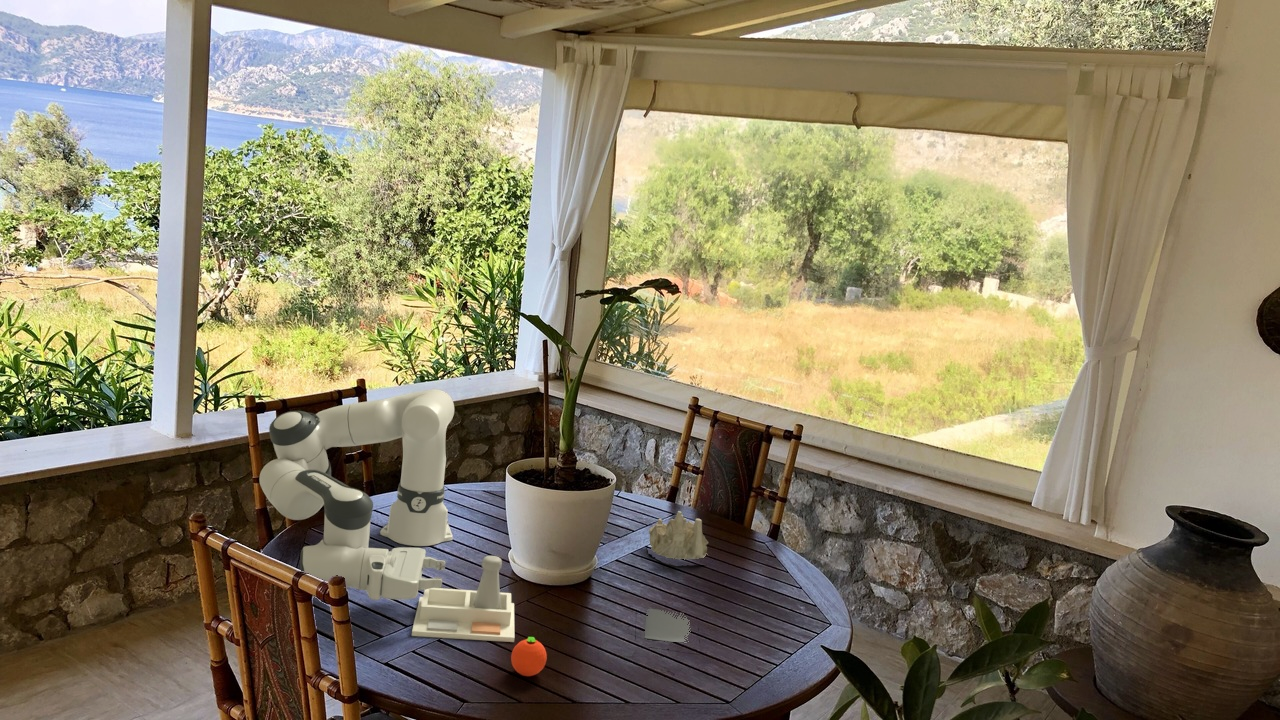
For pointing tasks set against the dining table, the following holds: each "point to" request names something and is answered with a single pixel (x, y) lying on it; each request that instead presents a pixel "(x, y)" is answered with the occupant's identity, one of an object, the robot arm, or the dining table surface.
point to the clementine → (528, 657)
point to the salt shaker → (489, 584)
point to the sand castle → (678, 538)
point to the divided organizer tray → (463, 616)
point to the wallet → (665, 626)
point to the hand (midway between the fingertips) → (443, 574)
